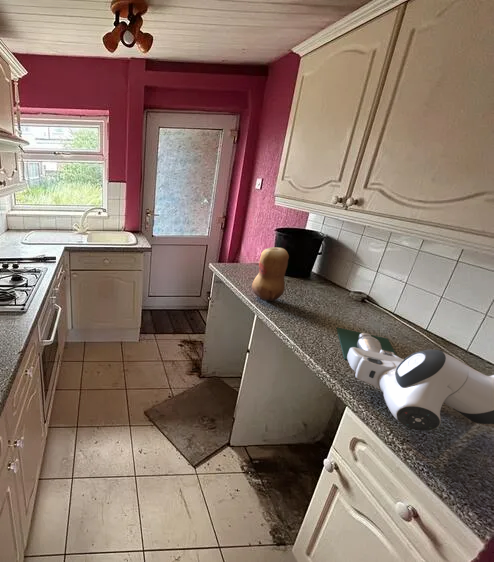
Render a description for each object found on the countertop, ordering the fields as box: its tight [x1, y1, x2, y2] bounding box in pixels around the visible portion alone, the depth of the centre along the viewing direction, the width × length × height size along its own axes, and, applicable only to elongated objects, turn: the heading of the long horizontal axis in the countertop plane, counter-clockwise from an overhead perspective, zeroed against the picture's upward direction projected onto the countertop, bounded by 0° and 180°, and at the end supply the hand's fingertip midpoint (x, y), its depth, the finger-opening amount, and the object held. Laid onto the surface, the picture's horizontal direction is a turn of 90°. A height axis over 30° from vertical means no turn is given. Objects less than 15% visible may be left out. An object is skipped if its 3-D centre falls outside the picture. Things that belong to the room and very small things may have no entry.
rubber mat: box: [336, 326, 398, 361], centre depth 109 cm, size 24×16×1 cm, turn 152°
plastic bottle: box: [357, 332, 382, 353], centre depth 101 cm, size 6×7×20 cm
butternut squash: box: [251, 246, 290, 302], centre depth 142 cm, size 14×13×25 cm
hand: (386, 352), depth 93 cm, fingers closed
